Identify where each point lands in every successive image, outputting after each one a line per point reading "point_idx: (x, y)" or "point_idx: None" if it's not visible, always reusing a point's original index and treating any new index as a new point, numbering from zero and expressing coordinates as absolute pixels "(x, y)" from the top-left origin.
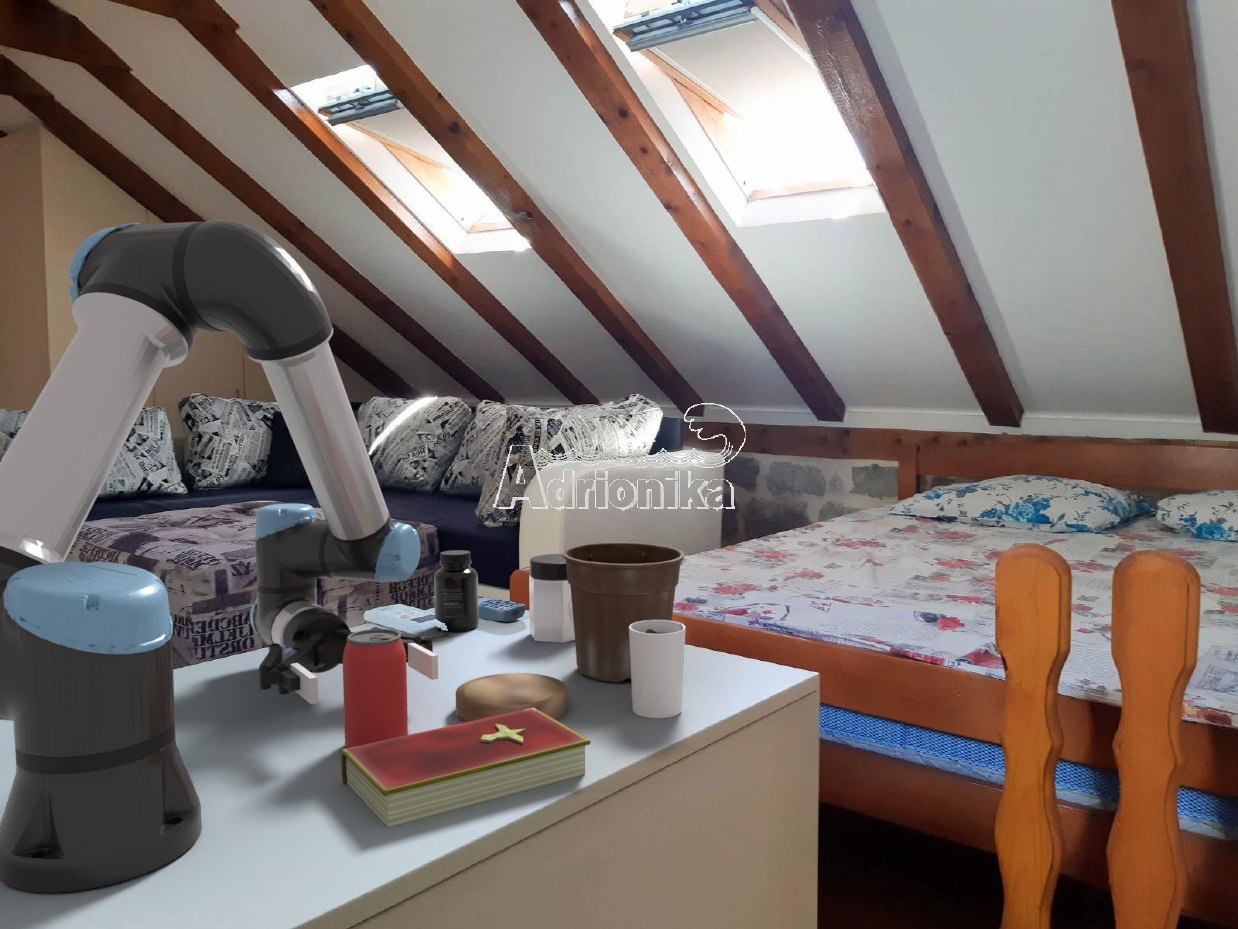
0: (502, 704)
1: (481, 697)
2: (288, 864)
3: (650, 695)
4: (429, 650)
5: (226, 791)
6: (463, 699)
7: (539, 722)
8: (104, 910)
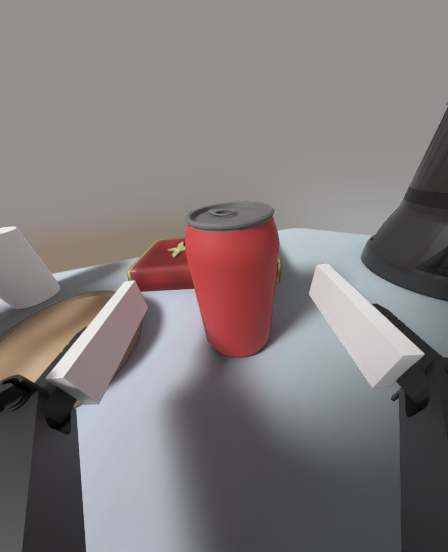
0: None
1: None
2: (305, 242)
3: (50, 274)
4: (68, 345)
5: (375, 302)
6: None
7: (151, 255)
8: None
